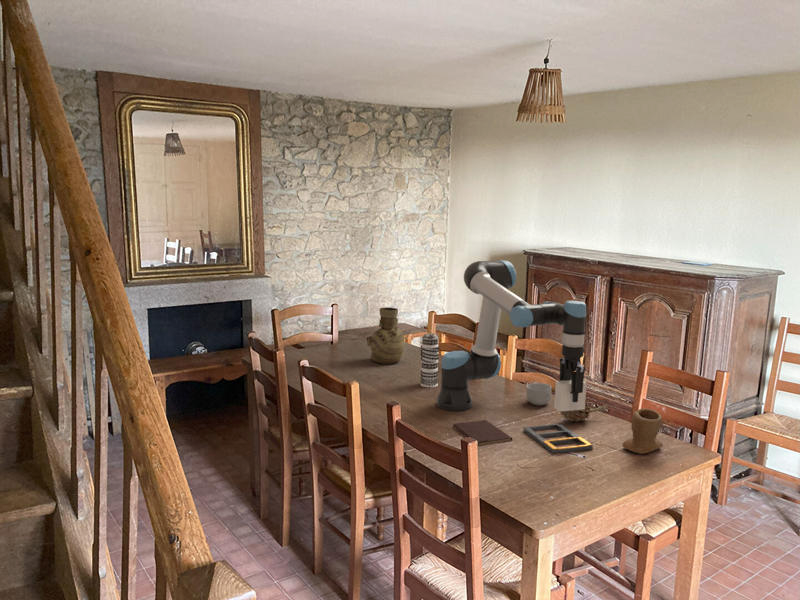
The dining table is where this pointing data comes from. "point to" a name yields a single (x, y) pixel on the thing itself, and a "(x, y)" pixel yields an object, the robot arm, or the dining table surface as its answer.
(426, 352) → the decorative candle
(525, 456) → the dining table surface
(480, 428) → the notebook
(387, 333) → the ceramic vessel
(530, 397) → the teacup
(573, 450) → the frame
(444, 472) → the dining table surface
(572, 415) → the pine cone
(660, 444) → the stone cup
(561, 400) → the panel
